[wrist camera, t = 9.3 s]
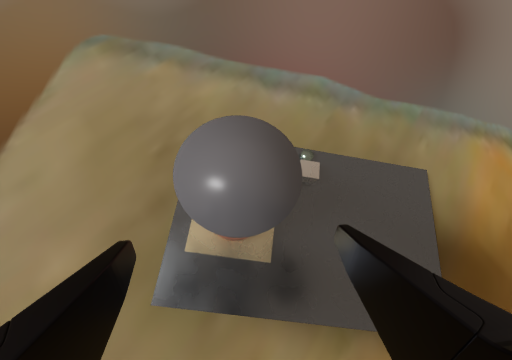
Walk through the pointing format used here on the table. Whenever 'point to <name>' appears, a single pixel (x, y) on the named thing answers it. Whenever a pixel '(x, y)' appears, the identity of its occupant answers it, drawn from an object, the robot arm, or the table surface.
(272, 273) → the breaker panel
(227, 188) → the post
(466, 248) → the table surface
